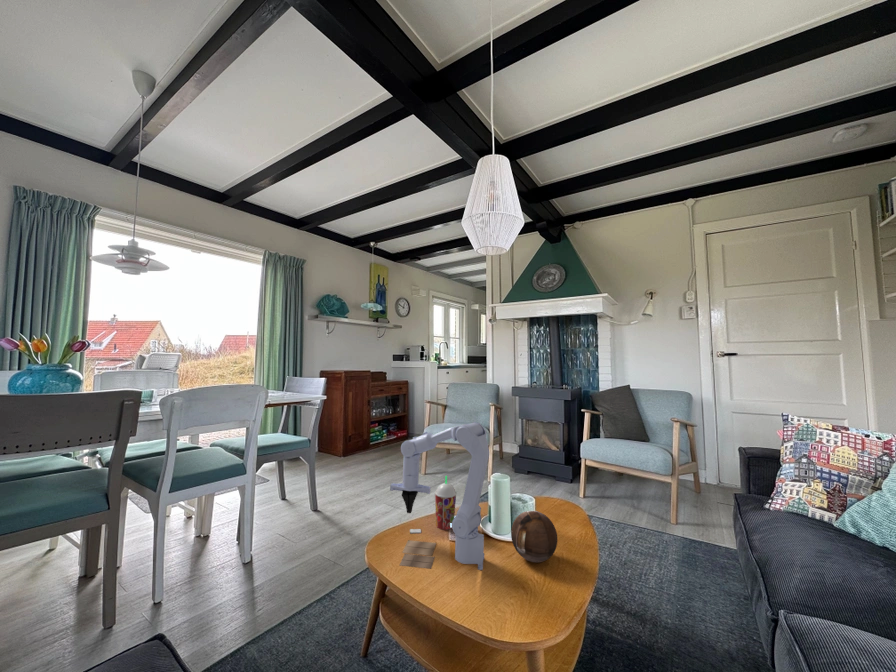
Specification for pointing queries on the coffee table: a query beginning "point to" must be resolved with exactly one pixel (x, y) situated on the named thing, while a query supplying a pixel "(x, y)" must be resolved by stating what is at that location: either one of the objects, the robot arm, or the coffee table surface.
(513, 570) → the coffee table surface
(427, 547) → the board
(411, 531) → the light grey block
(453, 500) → the smoothie
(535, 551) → the wooden sphere
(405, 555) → the laid board
